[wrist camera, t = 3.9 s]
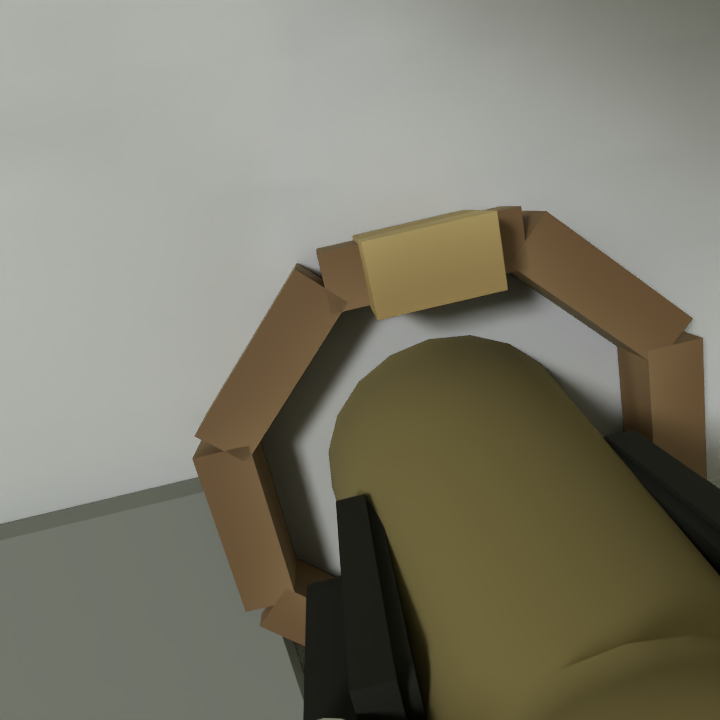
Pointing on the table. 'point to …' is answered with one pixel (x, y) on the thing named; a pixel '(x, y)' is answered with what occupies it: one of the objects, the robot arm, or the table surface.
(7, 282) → the table surface
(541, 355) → the table surface
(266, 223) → the table surface
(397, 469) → the cork
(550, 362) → the table surface
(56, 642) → the pad
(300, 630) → the collar
